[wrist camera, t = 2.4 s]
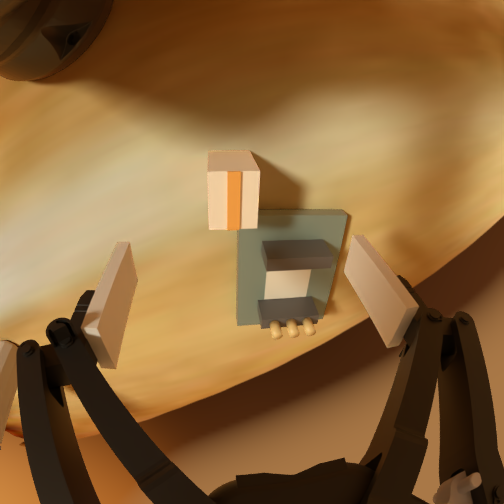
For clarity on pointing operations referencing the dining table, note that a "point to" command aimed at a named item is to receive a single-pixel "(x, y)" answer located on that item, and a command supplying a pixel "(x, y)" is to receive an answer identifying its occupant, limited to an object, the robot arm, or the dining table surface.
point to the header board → (287, 268)
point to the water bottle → (7, 381)
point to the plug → (232, 190)
